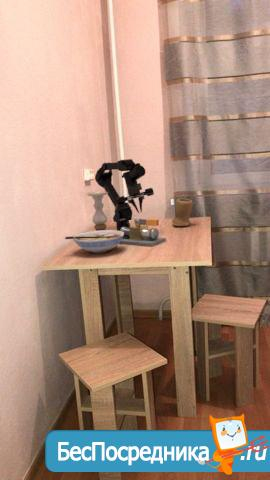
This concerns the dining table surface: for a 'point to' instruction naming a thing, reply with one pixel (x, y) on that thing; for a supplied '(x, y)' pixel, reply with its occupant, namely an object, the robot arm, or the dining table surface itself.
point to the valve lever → (147, 222)
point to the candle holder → (98, 210)
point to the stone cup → (182, 212)
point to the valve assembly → (141, 236)
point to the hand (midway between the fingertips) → (140, 212)
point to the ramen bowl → (98, 240)
